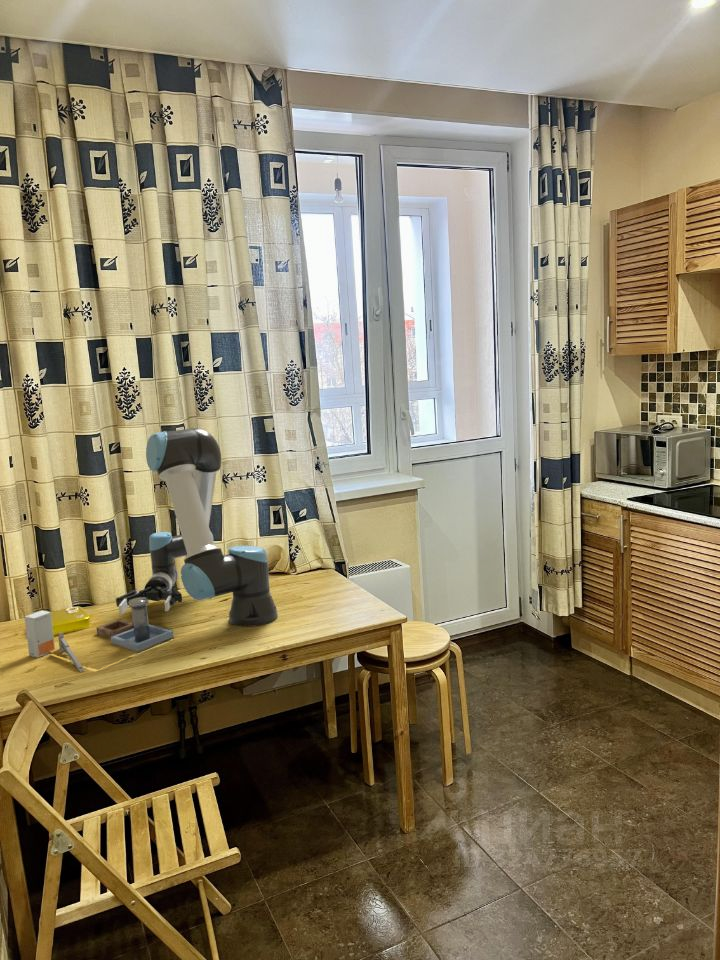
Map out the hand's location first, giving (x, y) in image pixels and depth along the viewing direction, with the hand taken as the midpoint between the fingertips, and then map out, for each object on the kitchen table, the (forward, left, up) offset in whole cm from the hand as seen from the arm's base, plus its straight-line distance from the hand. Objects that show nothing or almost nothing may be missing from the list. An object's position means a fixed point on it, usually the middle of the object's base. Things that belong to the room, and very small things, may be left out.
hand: (143, 608), depth 223 cm
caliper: (+4, +23, -9) cm, 25 cm away
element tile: (+31, +9, -10) cm, 34 cm away
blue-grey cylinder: (-2, +3, -8) cm, 9 cm away
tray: (-2, +3, -9) cm, 10 cm away
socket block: (+11, +3, -9) cm, 14 cm away
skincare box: (+17, +24, -9) cm, 31 cm away
